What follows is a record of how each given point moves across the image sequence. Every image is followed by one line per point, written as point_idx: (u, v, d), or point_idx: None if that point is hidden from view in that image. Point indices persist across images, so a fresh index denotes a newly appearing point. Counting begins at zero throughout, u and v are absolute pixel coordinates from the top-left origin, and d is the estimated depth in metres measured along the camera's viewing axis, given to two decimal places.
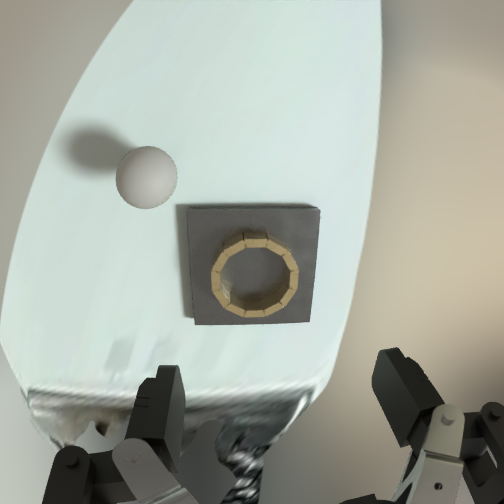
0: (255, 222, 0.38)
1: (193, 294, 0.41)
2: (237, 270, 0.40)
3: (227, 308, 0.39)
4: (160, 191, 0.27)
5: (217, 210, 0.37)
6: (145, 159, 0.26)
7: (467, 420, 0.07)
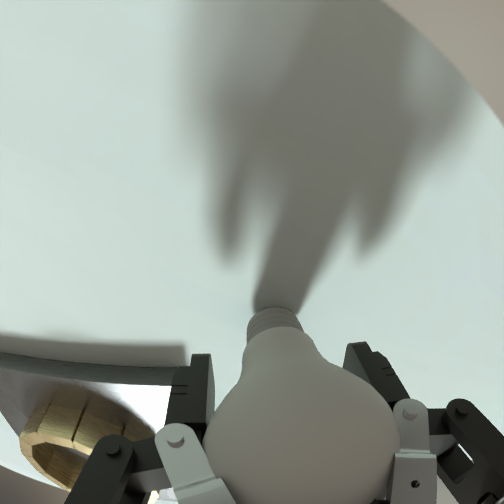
0: None
1: (14, 372, 0.15)
2: None
3: (20, 439, 0.14)
4: None
5: None
6: None
7: (432, 416, 0.08)
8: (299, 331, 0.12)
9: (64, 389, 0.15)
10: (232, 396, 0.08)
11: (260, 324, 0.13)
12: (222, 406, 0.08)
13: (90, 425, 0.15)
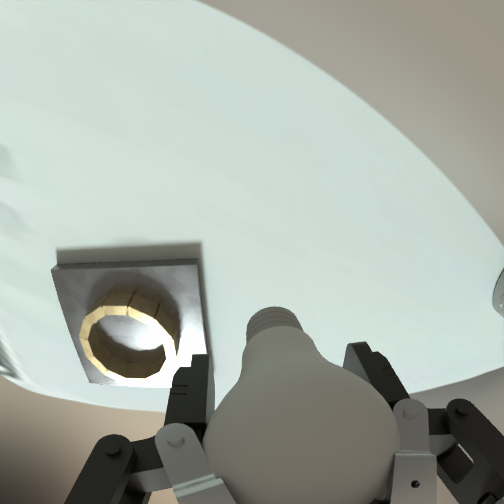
0: (189, 336, 0.32)
1: (89, 270, 0.29)
2: (129, 319, 0.31)
3: (84, 320, 0.28)
4: None
5: (199, 298, 0.31)
6: None
7: (432, 416, 0.08)
8: (299, 331, 0.12)
9: (124, 276, 0.29)
10: (232, 395, 0.08)
11: (259, 324, 0.13)
12: (222, 405, 0.08)
13: (138, 300, 0.29)
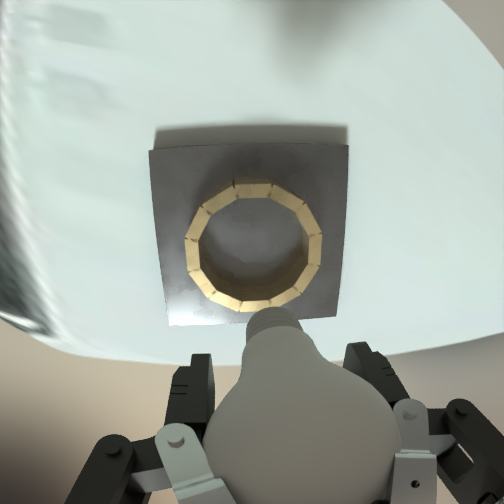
0: (327, 240, 0.27)
1: (209, 148, 0.23)
2: (254, 217, 0.26)
3: (200, 210, 0.23)
4: None
5: (346, 188, 0.25)
6: None
7: (432, 416, 0.08)
8: (299, 330, 0.12)
9: (259, 156, 0.24)
10: (232, 396, 0.08)
11: (259, 324, 0.13)
12: (222, 406, 0.08)
13: (278, 184, 0.24)
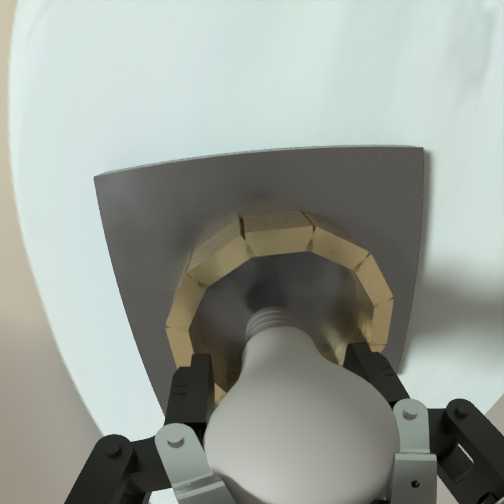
0: None
1: (417, 239, 0.15)
2: (316, 310, 0.16)
3: (362, 252, 0.13)
4: None
5: None
6: None
7: (432, 416, 0.08)
8: (299, 330, 0.12)
9: (398, 304, 0.17)
10: (232, 395, 0.08)
11: (259, 323, 0.13)
12: (222, 405, 0.08)
13: None
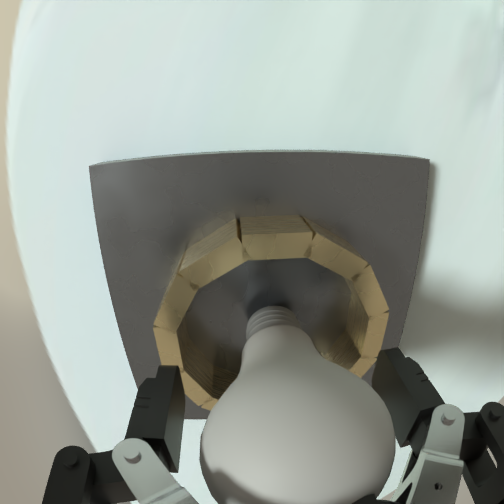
0: None
1: (416, 252, 0.15)
2: (309, 318, 0.16)
3: (361, 262, 0.12)
4: None
5: None
6: None
7: (467, 420, 0.07)
8: (297, 329, 0.13)
9: (392, 316, 0.16)
10: (230, 391, 0.08)
11: (259, 322, 0.14)
12: (220, 401, 0.08)
13: None
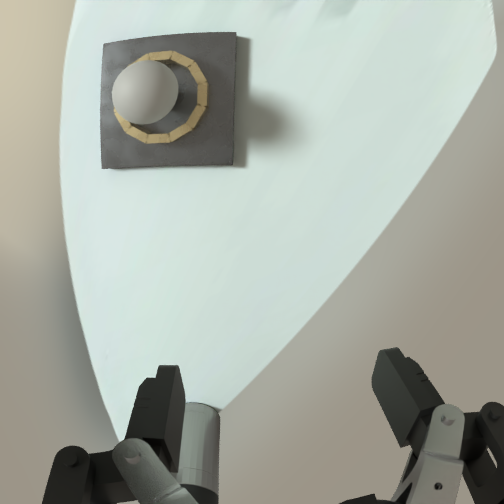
0: (162, 152, 0.34)
1: (233, 70, 0.31)
2: (181, 99, 0.32)
3: (191, 60, 0.28)
4: (125, 112, 0.23)
5: (201, 164, 0.35)
6: (159, 94, 0.23)
7: (467, 420, 0.07)
8: None
9: (225, 102, 0.33)
10: None
11: None
12: None
13: (204, 113, 0.32)
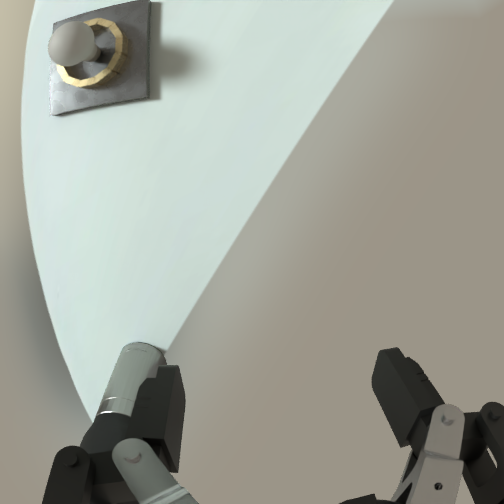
0: (93, 95, 0.37)
1: (145, 25, 0.34)
2: (107, 53, 0.35)
3: (111, 22, 0.31)
4: (54, 56, 0.26)
5: (122, 99, 0.38)
6: (76, 39, 0.25)
7: (467, 420, 0.07)
8: None
9: (139, 50, 0.35)
10: None
11: None
12: None
13: (123, 59, 0.35)
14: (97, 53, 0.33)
